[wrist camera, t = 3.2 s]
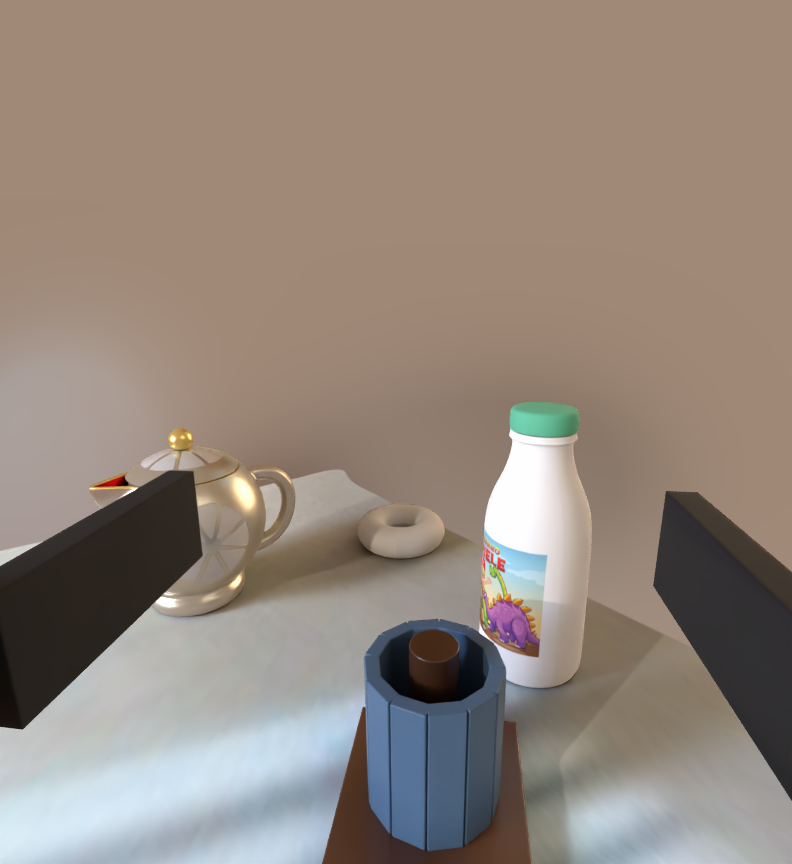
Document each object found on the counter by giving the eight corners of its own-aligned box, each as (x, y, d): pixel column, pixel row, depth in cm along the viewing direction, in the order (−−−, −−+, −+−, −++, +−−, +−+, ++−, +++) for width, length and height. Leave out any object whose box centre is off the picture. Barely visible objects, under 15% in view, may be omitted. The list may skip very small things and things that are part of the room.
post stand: (515, 734, 33) (523, 597, 31) (534, 912, 23) (548, 733, 21) (363, 718, 34) (359, 586, 32) (322, 881, 25) (311, 709, 22)
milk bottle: (549, 620, 45) (566, 394, 40) (601, 682, 37) (630, 415, 32) (465, 632, 43) (472, 399, 38) (501, 700, 36) (516, 422, 31)
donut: (431, 522, 65) (352, 528, 63) (432, 496, 64) (352, 502, 62) (455, 560, 55) (363, 568, 53) (456, 530, 55) (363, 538, 53)
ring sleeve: (510, 754, 30) (517, 637, 28) (478, 875, 24) (484, 736, 22) (399, 716, 33) (398, 608, 31) (344, 815, 27) (338, 687, 25)
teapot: (124, 664, 40) (91, 463, 36) (101, 587, 50) (73, 426, 46) (329, 588, 50) (322, 425, 46) (274, 538, 61) (264, 402, 56)
